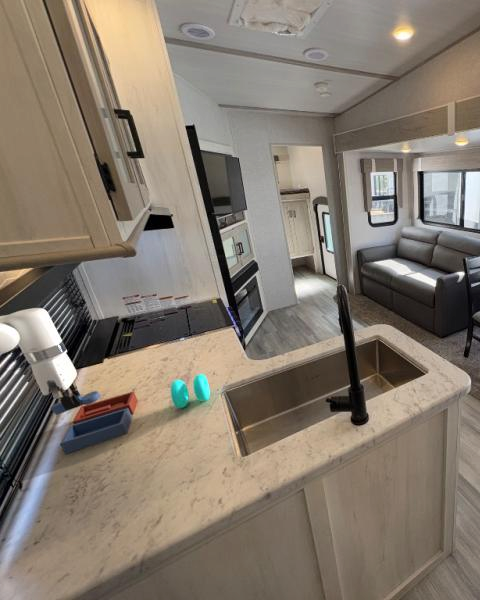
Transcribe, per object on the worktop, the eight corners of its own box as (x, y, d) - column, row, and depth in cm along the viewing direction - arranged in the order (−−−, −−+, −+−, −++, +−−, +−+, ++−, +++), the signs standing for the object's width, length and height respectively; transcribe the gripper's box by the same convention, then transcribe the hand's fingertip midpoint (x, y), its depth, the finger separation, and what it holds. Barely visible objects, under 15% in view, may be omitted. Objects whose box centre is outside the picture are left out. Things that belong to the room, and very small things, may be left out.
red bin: (77, 431, 101) (72, 421, 100) (85, 416, 108) (81, 406, 107) (133, 414, 108) (129, 404, 107) (137, 400, 115) (133, 391, 114)
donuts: (209, 405, 110) (201, 381, 107) (176, 415, 106) (167, 391, 103) (211, 390, 119) (204, 368, 115) (180, 399, 115) (172, 376, 111)
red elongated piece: (86, 423, 104) (83, 416, 103) (90, 416, 107) (86, 410, 106) (125, 411, 109) (122, 405, 108) (127, 405, 112) (124, 398, 111)
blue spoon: (54, 417, 89) (48, 410, 88) (60, 409, 92) (54, 402, 91) (98, 400, 93) (93, 393, 92) (102, 393, 96) (97, 386, 95)
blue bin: (65, 454, 92) (59, 444, 91) (75, 435, 99) (70, 425, 98) (127, 433, 99) (122, 423, 98) (132, 417, 106) (128, 407, 105)
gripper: (39, 344, 90) (67, 396, 97) (12, 369, 77) (46, 426, 84) (73, 337, 93) (98, 387, 100) (53, 359, 81) (83, 415, 87)
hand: (74, 405), depth 92 cm, fingers closed on blue spoon
